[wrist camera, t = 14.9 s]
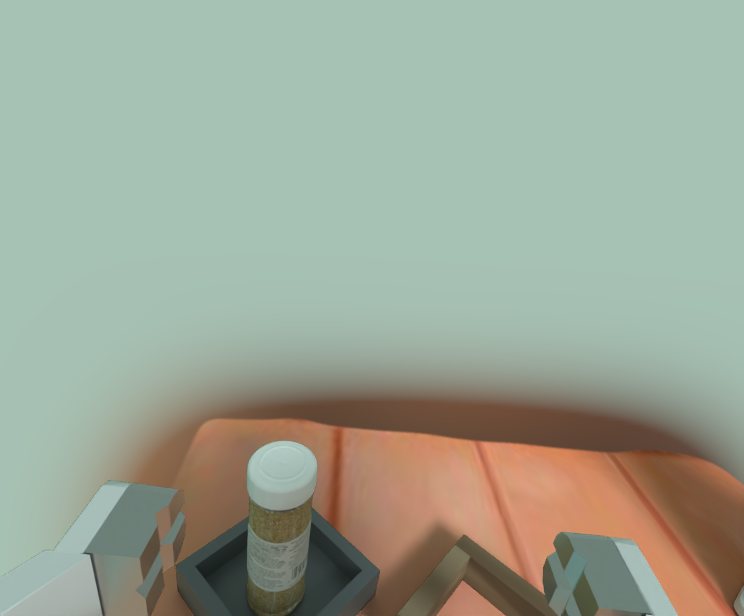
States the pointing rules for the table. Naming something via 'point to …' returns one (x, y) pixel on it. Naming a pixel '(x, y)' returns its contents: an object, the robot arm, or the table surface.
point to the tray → (322, 577)
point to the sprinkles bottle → (279, 525)
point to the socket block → (476, 584)
